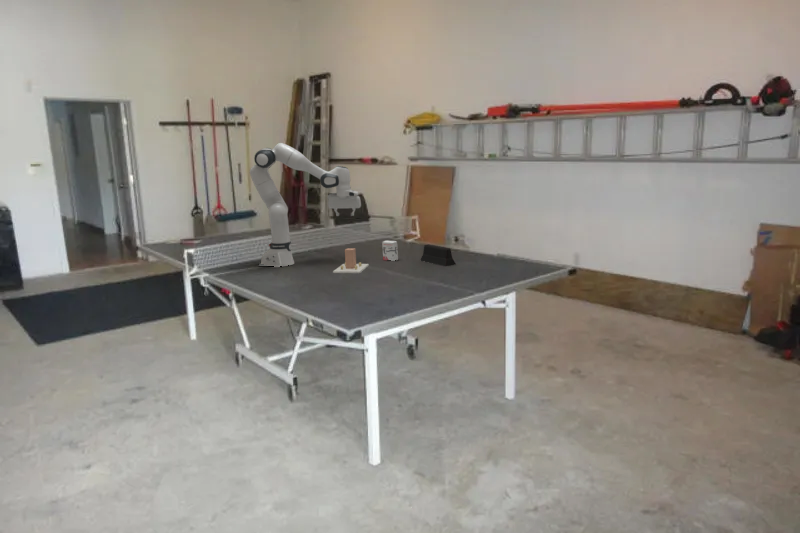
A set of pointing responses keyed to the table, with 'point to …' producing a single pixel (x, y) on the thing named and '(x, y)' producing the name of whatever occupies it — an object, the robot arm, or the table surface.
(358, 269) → the mounting plate
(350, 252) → the terracotta block
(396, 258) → the ink box
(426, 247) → the barrier
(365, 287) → the table surface
